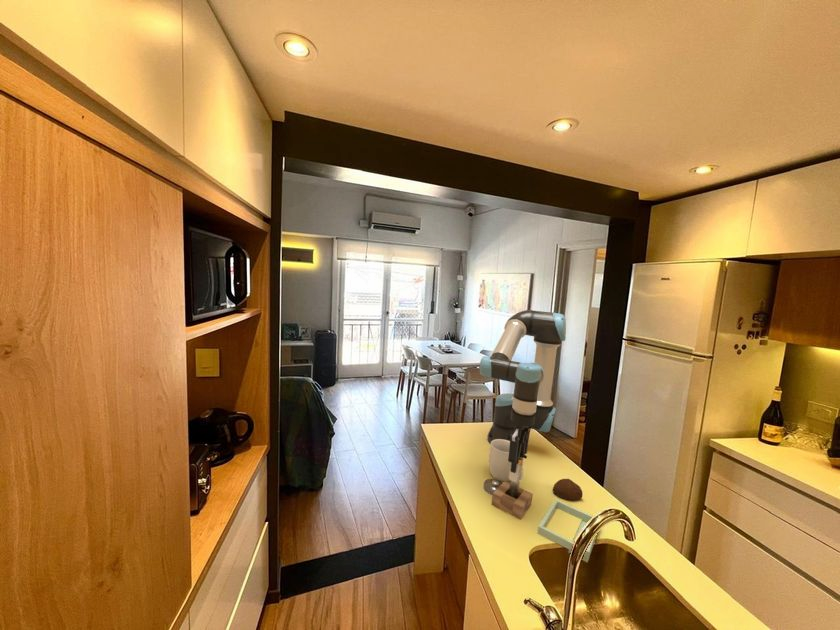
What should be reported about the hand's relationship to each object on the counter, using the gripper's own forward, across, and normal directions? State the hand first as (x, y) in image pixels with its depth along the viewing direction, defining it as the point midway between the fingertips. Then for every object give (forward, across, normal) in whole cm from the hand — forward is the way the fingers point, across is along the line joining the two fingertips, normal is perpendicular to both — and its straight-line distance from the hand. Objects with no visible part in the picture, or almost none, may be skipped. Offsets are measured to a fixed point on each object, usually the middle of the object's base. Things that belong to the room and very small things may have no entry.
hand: (515, 477), depth 112 cm
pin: (+6, 0, 0) cm, 6 cm away
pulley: (+10, -4, -8) cm, 14 cm away
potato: (+11, -20, +13) cm, 26 cm away
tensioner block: (+10, 0, 0) cm, 10 cm away
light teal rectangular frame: (+10, -2, +18) cm, 21 cm away
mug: (+11, -14, -9) cm, 20 cm away
